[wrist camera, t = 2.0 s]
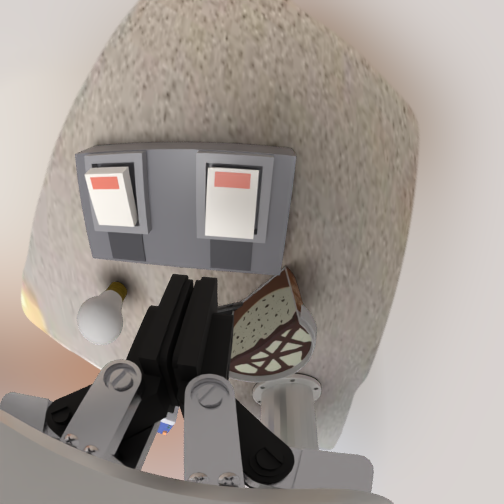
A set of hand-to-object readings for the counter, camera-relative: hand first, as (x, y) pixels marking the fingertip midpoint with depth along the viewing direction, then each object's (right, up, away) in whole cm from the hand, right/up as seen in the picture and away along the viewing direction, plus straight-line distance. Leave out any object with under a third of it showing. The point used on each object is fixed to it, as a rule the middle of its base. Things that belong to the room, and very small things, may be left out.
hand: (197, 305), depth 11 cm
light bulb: (-16, -2, +25) cm, 29 cm away
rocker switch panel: (-5, +8, +18) cm, 20 cm away
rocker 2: (0, +6, +12) cm, 14 cm away
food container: (+5, -4, +25) cm, 26 cm away
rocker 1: (-11, +7, +12) cm, 17 cm away
